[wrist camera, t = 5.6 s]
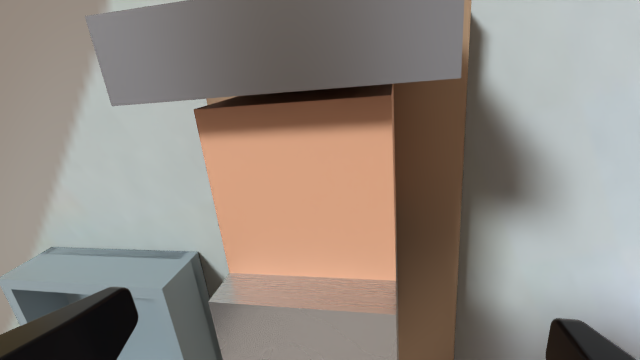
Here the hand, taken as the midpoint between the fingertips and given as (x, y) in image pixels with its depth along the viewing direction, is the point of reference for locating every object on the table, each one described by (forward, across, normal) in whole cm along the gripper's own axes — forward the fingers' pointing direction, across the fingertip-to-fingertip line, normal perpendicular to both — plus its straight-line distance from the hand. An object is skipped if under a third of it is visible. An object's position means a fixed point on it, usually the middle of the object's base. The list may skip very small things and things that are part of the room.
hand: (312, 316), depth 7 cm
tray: (+6, +11, +6) cm, 14 cm away
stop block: (+5, 0, -2) cm, 5 cm away
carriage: (+5, 0, +2) cm, 5 cm away
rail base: (+6, 0, +2) cm, 6 cm away
